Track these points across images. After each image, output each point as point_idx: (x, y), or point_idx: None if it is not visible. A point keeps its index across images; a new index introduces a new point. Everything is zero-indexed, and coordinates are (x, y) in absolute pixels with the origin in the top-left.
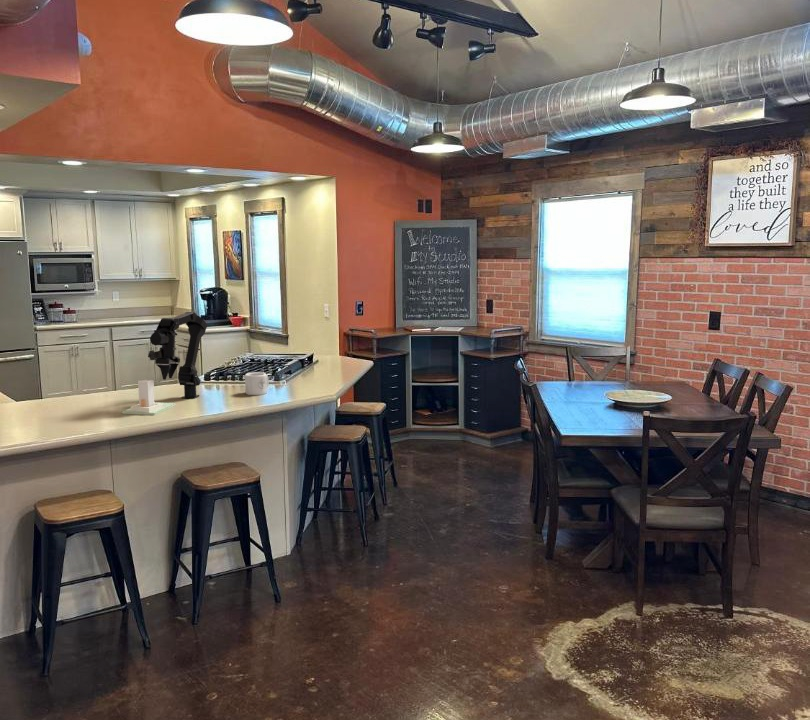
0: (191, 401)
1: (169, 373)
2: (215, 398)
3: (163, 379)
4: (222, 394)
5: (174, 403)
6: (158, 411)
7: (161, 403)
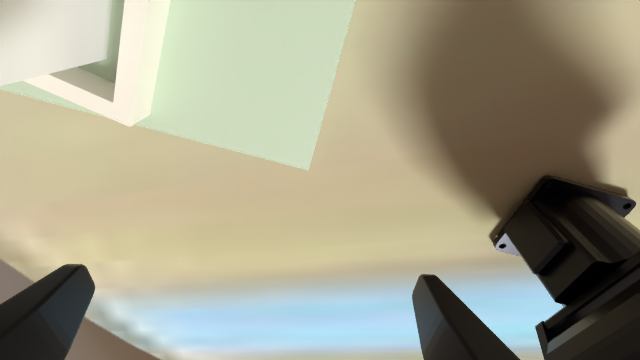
0: (413, 236)
1: (455, 357)
2: None
3: (67, 268)
4: None
5: (299, 167)
6: (51, 101)
7: (130, 116)
